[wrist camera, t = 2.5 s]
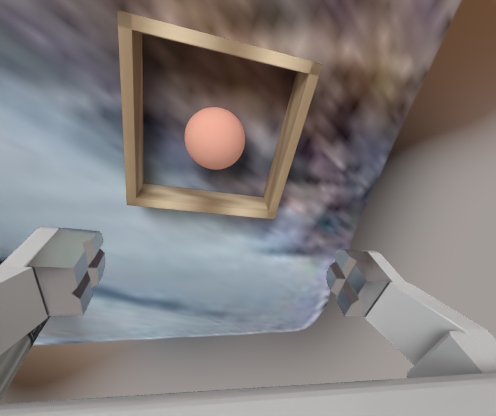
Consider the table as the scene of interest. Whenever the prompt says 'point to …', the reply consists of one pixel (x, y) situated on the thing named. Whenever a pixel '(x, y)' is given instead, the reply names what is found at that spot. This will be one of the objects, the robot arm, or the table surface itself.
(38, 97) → the table surface
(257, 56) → the wooden square frame
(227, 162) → the ball
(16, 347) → the milk frother
